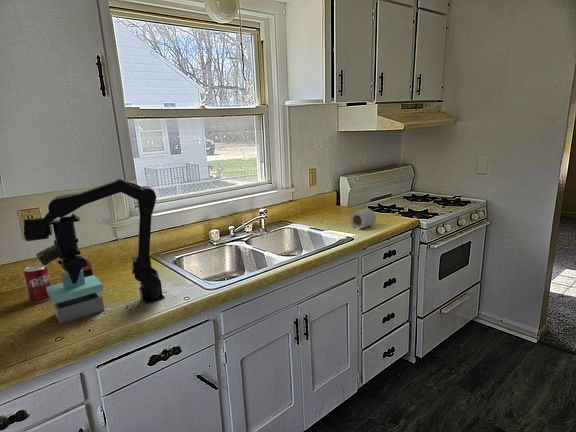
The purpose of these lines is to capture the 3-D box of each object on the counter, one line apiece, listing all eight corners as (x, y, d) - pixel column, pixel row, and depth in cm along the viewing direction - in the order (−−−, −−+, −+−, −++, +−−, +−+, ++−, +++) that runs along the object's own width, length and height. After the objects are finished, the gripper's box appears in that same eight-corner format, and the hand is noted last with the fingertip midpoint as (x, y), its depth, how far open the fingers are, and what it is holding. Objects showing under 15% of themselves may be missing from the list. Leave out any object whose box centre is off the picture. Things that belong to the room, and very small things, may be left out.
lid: (95, 281, 134) (92, 262, 132) (103, 290, 126) (100, 270, 124) (47, 293, 125) (43, 274, 123) (53, 304, 117) (49, 283, 115)
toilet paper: (364, 231, 207) (364, 213, 205) (349, 227, 214) (350, 210, 212) (375, 227, 214) (375, 209, 211) (361, 224, 221) (361, 207, 218)
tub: (97, 301, 134) (95, 288, 133) (104, 310, 128) (102, 296, 127) (54, 314, 126) (52, 300, 125) (60, 324, 120) (57, 309, 119)
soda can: (25, 300, 137) (18, 269, 135) (47, 293, 143) (41, 262, 140) (35, 305, 133) (28, 273, 131) (57, 297, 139) (50, 266, 136)
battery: (94, 282, 152) (90, 258, 149) (75, 287, 148) (70, 262, 145) (91, 279, 155) (87, 255, 153) (73, 283, 151) (68, 259, 149)
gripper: (31, 235, 123) (40, 281, 127) (40, 249, 109) (50, 299, 113) (70, 228, 130) (77, 272, 133) (83, 240, 116) (91, 288, 119)
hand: (74, 282), depth 124 cm, fingers closed on lid
